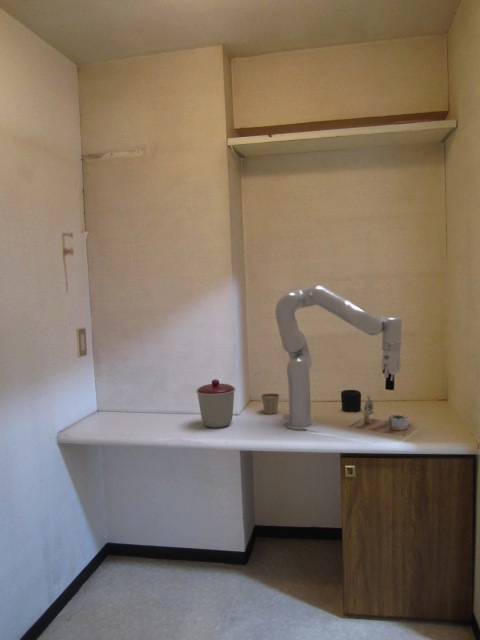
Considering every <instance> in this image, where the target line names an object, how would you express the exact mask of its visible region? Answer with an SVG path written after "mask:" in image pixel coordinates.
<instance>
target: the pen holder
mask: <svg viewBox="0 0 480 640" xmlns="http://www.w3.org/2000/svg"><path fill="white" fill-rule="evenodd" d="M340 397H341V411H343V412H345V413H358V412H361V410H362V393H361V391H359V390H356V389H345V390H344V389H343V390H342V391H341V393H340Z"/></svg>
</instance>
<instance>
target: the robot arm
mask: <svg viewBox="0 0 480 640" xmlns="http://www.w3.org/2000/svg"><path fill="white" fill-rule="evenodd" d="M277 301H278V302H277V303H276V305H275V312H274V313H275V319H276V323H277V327H278V332H279V335H280V339H281V345H282V347H283V350H284V351H286V352H287V353H288V356H289V360H288V361H287V362H288V363H287V364H286V373H287V374H286V375H287V385H288V388H287V389H288V410H289V411H288V412H289V414H288V413H287V414H286V413H284V414H283V415H282V420H286V425H285V427H287V429H289V430H294V431H306V430H307V428H311V427H313V426H314V425H315V422H314V421H313V420H312V410H311V409H312V407H311V406H312V405H311V385H310V384H311V383H310V382H311V381H310V369H311V367H312V357H311V354H310V350H309V347H308V341H307V338H306V336H305V335H304V333H303V332H302V331H300V330H299V329H300V328H299V325H298V321H297V319H296V311H297V310H299V309H303V308H307V307H312V306H318V307H321V309H324V310H326V311H328V312H329V313H331V314H332V315H334V316H336V317H338V318H339V319H341V320H342V321H344V322H346V323H348V324H350V325H351V326H353V327H355V328H356V329H358V330H359V331H362V332H363V333H365V334H367V335H369V336H378V335H379V334H382V336H381V337H382V338H381V350H382V355H381V356H382V358H381V373H382V374H384V376H383V378H384V379H385V390H386V391H387V390H388V391H395V379H396V375H397V374H398V373H400V372H401V364H402V363H401V351H402V348H401V346H402V345H401V344H402V327H403V326H402V318H401V317H397V316H386V317H385V316H379V315H372V314H370V313H369V312H367V311H365V310H364V309H361V308H360V307H358V306H357V305H356V304H354V302H353V301H352V300H350V299H348V298H347V297H344V296H343V295H341V294H340V293H338V292H336V291H333V290H332V289H330V288H329V287H328V286H327V285H325V284H316V285H313V286H309V287H305V288H300V289H296V290H291V291H287V292H286V293H285V294H283V295H282V296H281V297H280V299H278V300H277Z"/></svg>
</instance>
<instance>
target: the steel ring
mask: <svg viewBox="0 0 480 640" xmlns="http://www.w3.org/2000/svg"><path fill="white" fill-rule="evenodd" d="M388 421H389V427H391V428H394V429H406V428H407V427H408V424H409V418H408V416H406V415H403V414H391V415H390V416H388Z"/></svg>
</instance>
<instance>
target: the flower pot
mask: <svg viewBox="0 0 480 640" xmlns="http://www.w3.org/2000/svg"><path fill="white" fill-rule="evenodd" d="M280 396H281V395H280V394H279V393H276V392H271V393H263V394H260V397H261V400H262V405H263V410H264V411H263V412H264V414H267V415H273V414H277V413H278V405H279V399H280Z"/></svg>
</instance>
